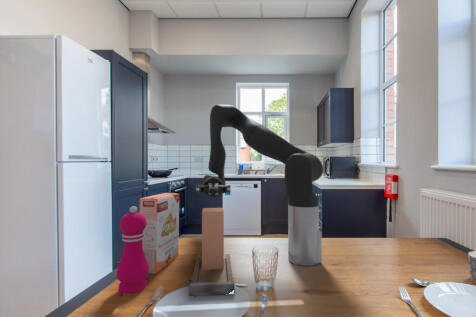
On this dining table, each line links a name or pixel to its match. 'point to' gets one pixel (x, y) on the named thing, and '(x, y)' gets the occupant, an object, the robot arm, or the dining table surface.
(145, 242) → the cracker box
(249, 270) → the dining table surface
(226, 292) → the chute
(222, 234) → the block
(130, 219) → the pepper mill
